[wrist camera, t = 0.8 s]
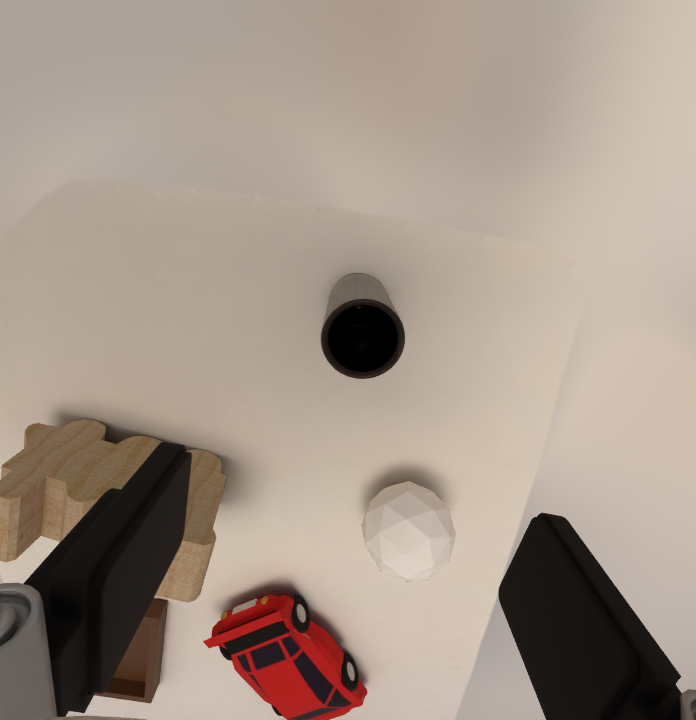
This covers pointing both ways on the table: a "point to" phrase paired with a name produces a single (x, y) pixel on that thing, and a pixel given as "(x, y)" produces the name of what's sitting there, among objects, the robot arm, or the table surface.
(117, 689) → the tray
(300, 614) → the toy car
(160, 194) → the table surface
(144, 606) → the robot arm
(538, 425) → the table surface
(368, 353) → the grey hollow cylinder
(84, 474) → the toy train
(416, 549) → the geometric ball
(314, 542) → the table surface
